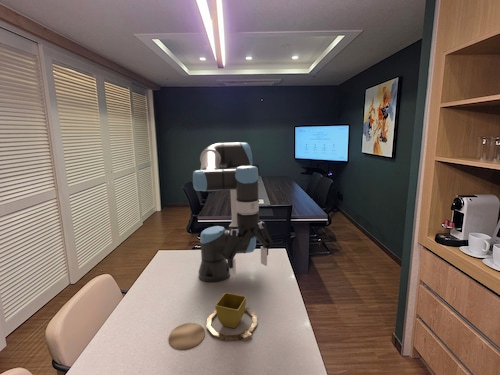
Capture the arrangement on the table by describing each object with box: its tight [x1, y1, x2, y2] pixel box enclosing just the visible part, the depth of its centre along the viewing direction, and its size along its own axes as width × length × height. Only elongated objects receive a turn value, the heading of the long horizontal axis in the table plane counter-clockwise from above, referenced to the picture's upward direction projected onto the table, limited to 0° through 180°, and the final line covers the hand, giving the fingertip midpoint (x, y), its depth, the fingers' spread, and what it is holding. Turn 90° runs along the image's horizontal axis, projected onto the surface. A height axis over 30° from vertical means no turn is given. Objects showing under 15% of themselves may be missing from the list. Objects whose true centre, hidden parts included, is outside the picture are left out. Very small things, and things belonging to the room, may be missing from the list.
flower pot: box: [214, 292, 247, 329], centre depth 102 cm, size 9×9×9 cm
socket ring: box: [206, 305, 258, 343], centre depth 103 cm, size 21×18×2 cm
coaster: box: [168, 322, 206, 350], centre depth 96 cm, size 12×12×1 cm
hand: (249, 269), depth 100 cm, fingers open, 13 cm apart
